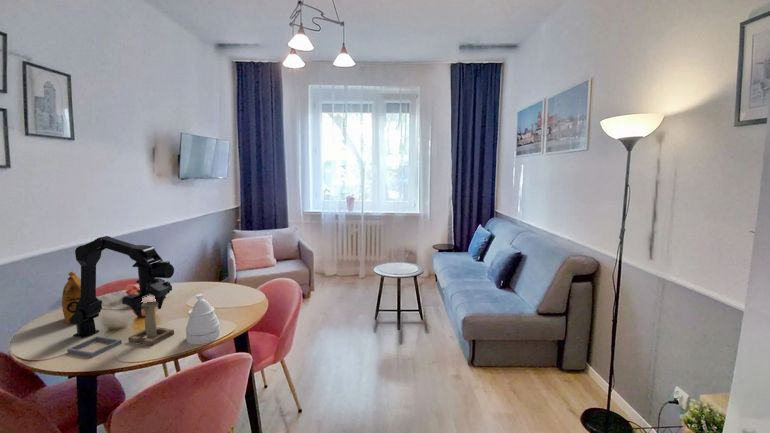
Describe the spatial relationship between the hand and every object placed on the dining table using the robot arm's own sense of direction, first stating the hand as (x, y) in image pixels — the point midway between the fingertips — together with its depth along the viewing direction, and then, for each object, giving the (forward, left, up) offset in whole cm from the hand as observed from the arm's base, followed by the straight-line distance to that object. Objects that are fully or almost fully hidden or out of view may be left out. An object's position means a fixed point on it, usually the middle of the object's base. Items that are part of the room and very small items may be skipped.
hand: (150, 313), depth 152 cm
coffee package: (-50, +5, -11) cm, 52 cm away
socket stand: (0, 0, -11) cm, 11 cm away
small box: (-38, +35, -11) cm, 53 cm away
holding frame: (-14, -13, -11) cm, 22 cm away
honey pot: (+20, +7, -11) cm, 24 cm away
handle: (0, 0, -11) cm, 11 cm away
